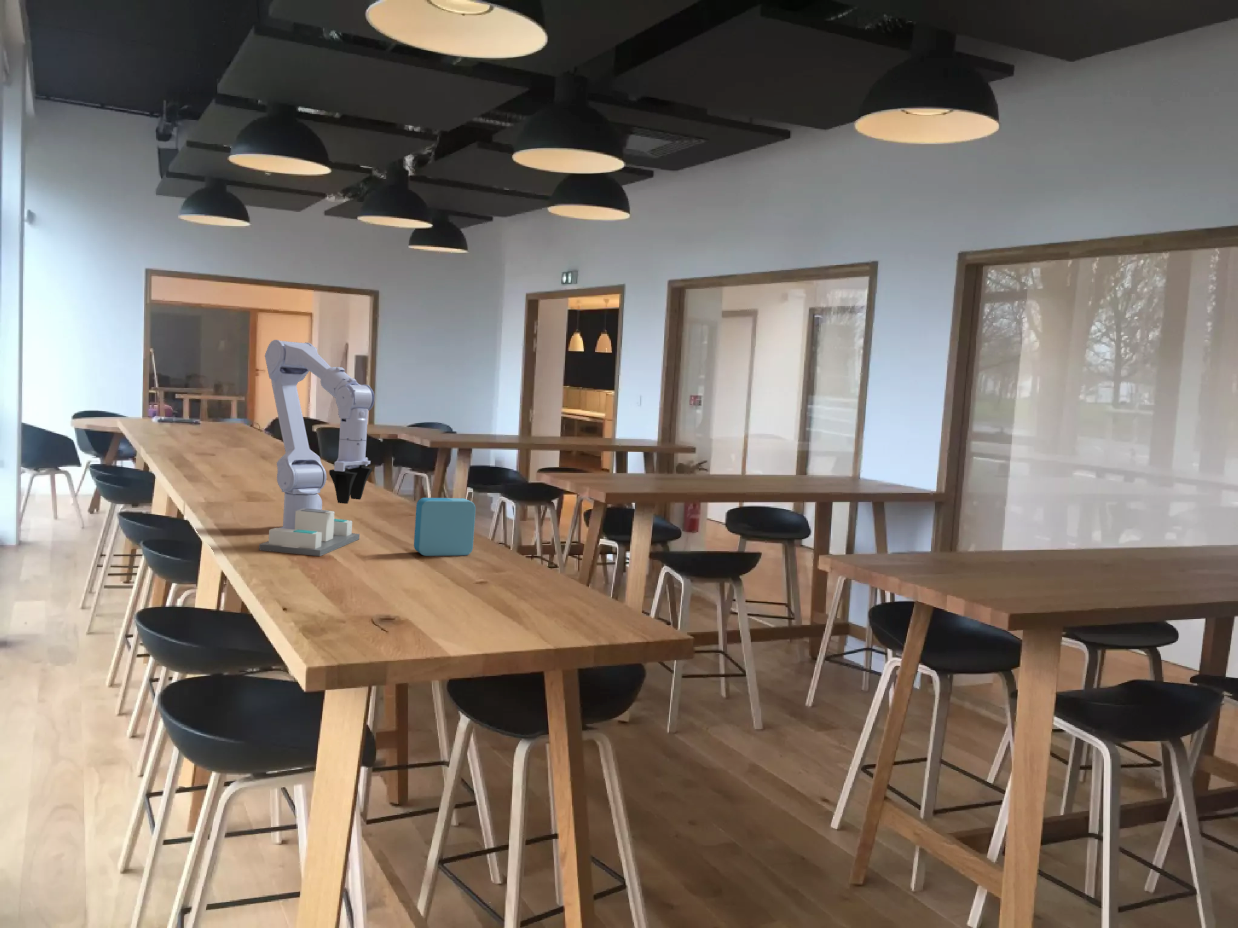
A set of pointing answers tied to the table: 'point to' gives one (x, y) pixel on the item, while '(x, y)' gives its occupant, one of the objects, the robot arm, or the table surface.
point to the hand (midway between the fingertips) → (349, 501)
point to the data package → (444, 526)
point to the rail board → (313, 552)
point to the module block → (316, 522)
